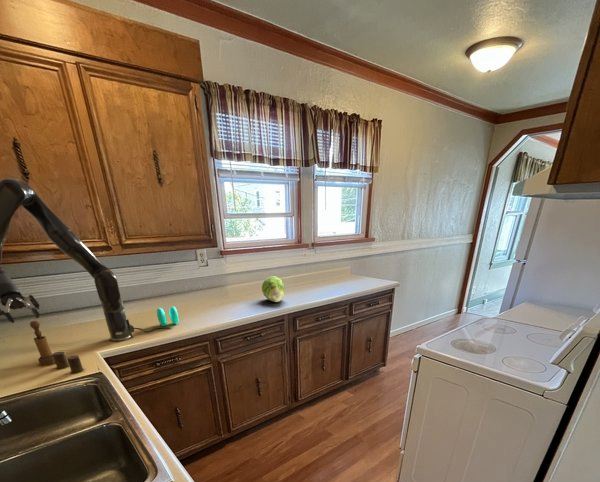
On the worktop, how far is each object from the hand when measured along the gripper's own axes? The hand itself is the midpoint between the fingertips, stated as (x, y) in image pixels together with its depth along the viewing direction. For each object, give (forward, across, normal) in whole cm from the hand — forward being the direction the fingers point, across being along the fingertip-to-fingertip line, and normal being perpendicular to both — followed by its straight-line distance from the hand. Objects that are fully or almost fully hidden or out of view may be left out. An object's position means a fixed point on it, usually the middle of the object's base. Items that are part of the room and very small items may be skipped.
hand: (25, 319), depth 135 cm
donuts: (+14, +63, +10) cm, 65 cm away
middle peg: (+26, +2, -1) cm, 26 cm away
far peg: (+32, +3, -8) cm, 33 cm away
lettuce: (+22, +144, +2) cm, 146 cm away
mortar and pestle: (+19, 0, +6) cm, 20 cm away
